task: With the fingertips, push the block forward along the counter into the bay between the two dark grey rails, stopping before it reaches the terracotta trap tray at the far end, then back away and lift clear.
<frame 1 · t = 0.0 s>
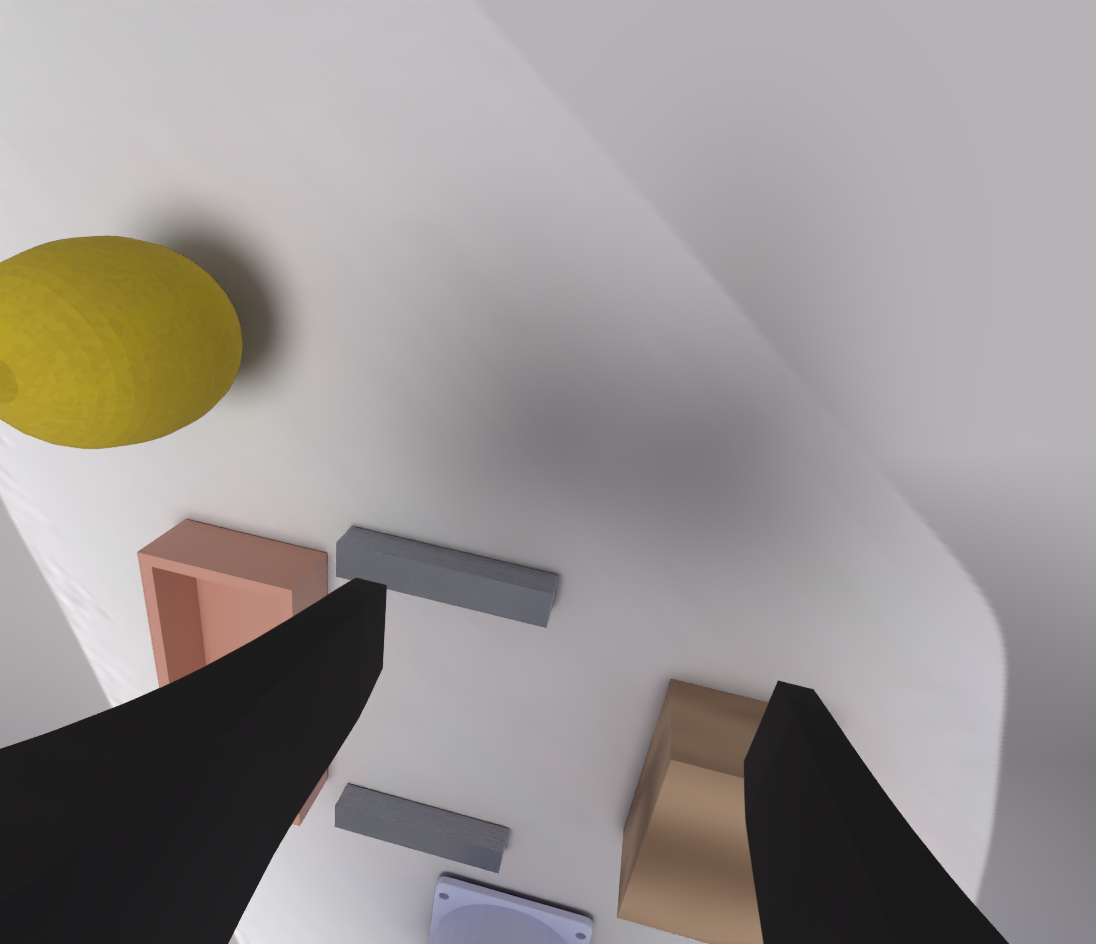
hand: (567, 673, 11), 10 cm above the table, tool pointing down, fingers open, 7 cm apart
lemon: (218, 314, 21), on the table
trap tray: (263, 660, 27), on the table
block: (717, 773, 26), on the table
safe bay: (437, 706, 26), on the table
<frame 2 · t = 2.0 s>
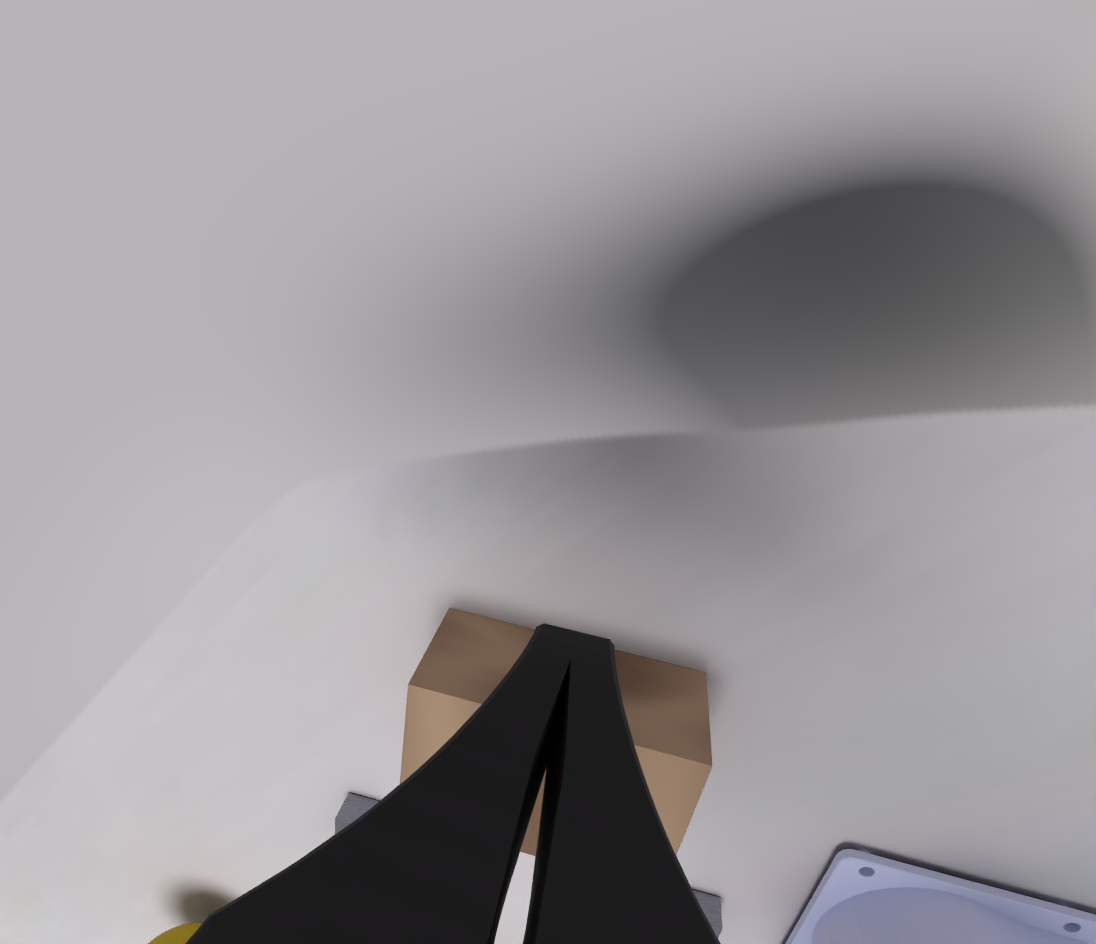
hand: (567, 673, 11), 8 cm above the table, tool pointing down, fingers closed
lemon: (224, 915, 33), on the table
block: (561, 698, 23), on the table
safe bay: (516, 899, 28), on the table
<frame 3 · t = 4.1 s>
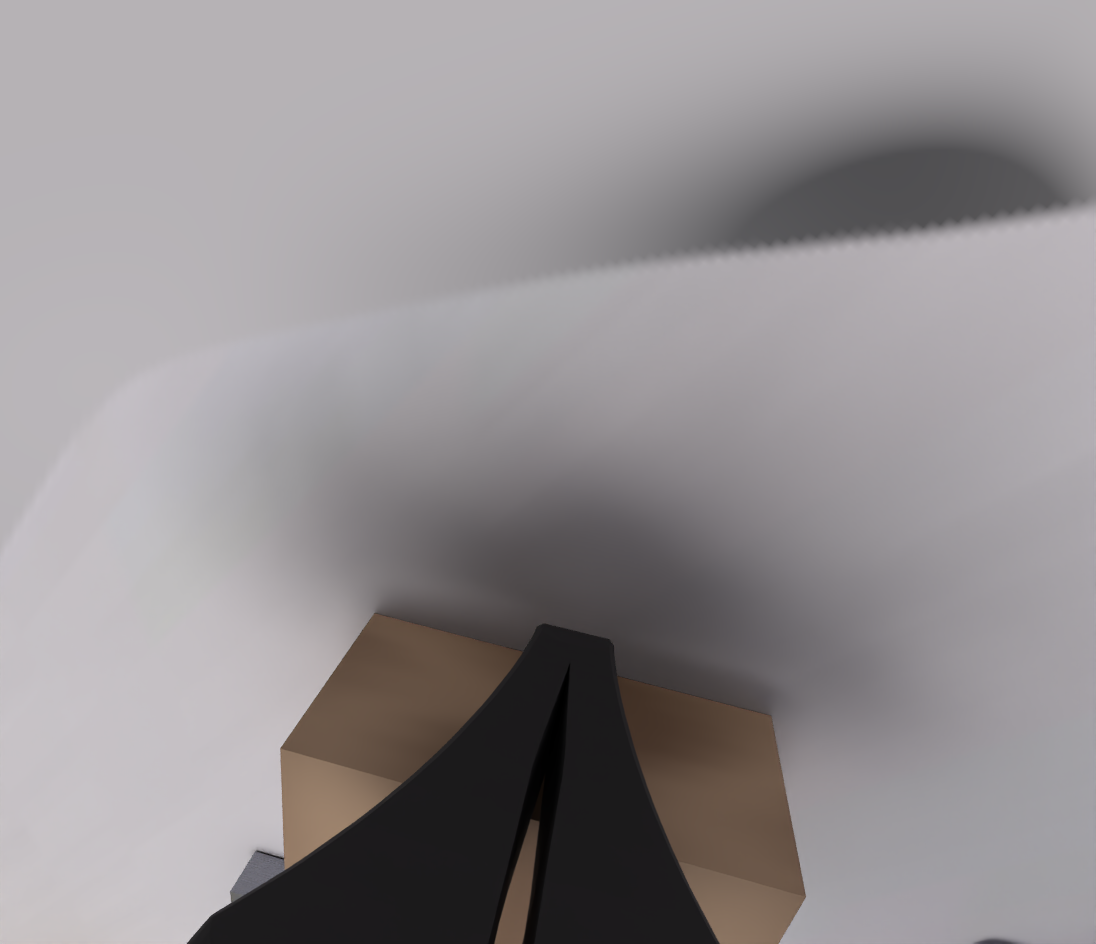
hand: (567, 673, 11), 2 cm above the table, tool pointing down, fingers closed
block: (546, 749, 15), on the table
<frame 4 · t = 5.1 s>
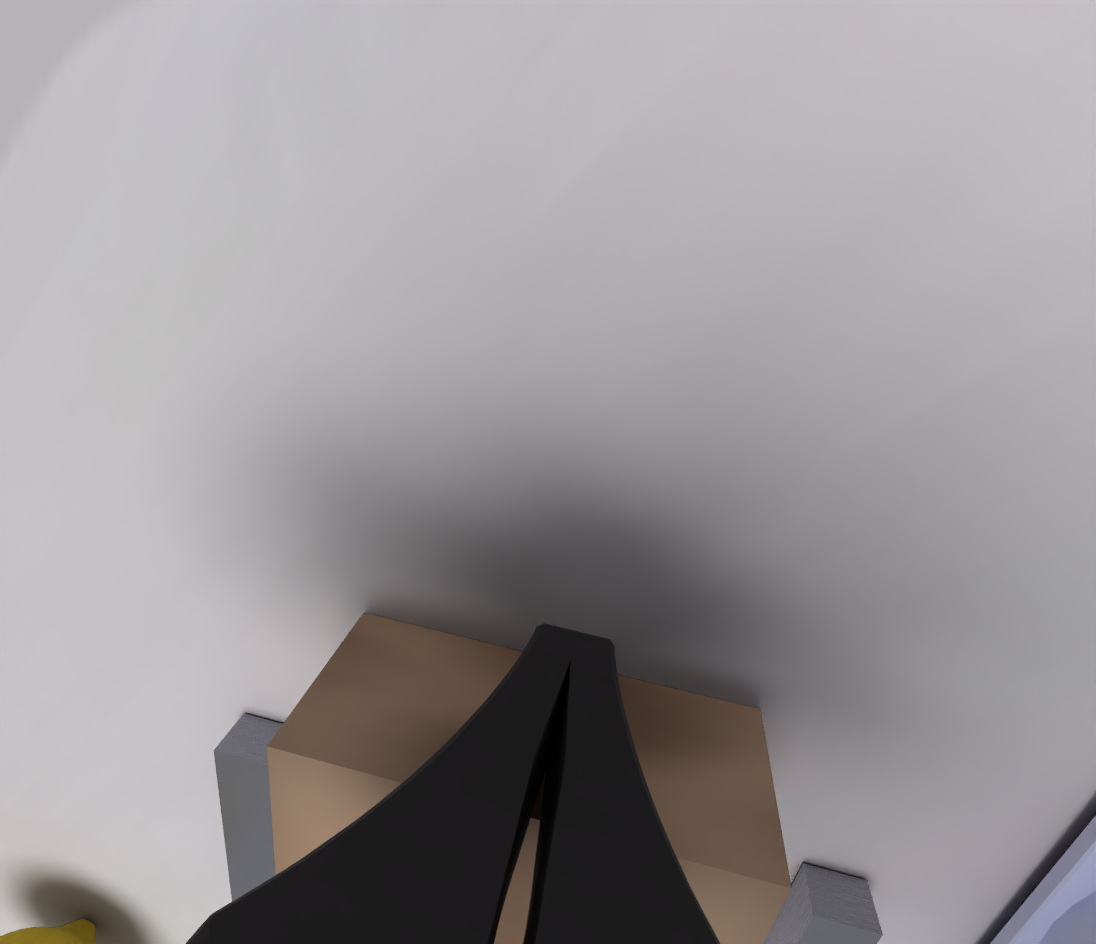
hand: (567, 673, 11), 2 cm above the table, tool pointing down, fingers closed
lemon: (93, 915, 23), on the table
block: (538, 746, 15), on the table, touching gripper
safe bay: (519, 888, 17), on the table
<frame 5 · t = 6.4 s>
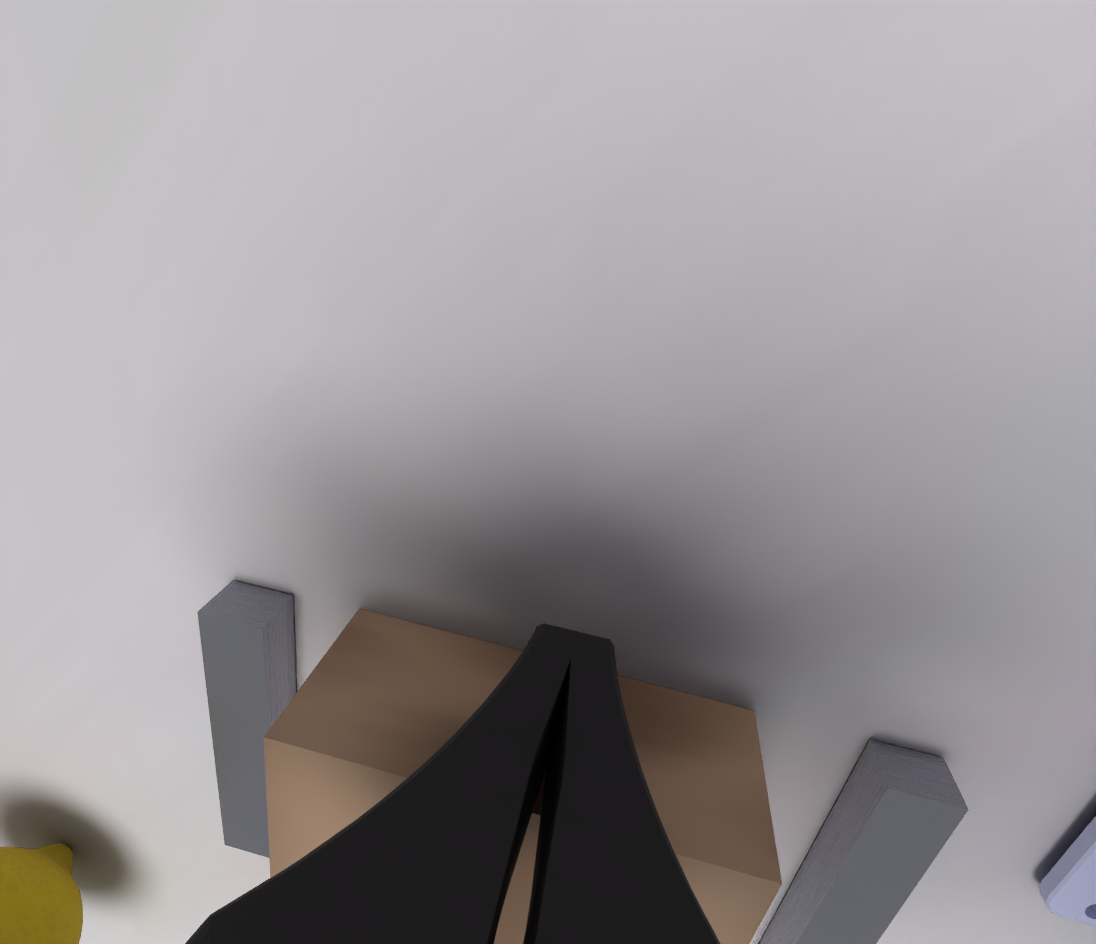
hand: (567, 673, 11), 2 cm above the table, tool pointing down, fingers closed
lemon: (71, 841, 21), on the table
block: (532, 742, 15), on the table
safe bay: (541, 785, 15), on the table
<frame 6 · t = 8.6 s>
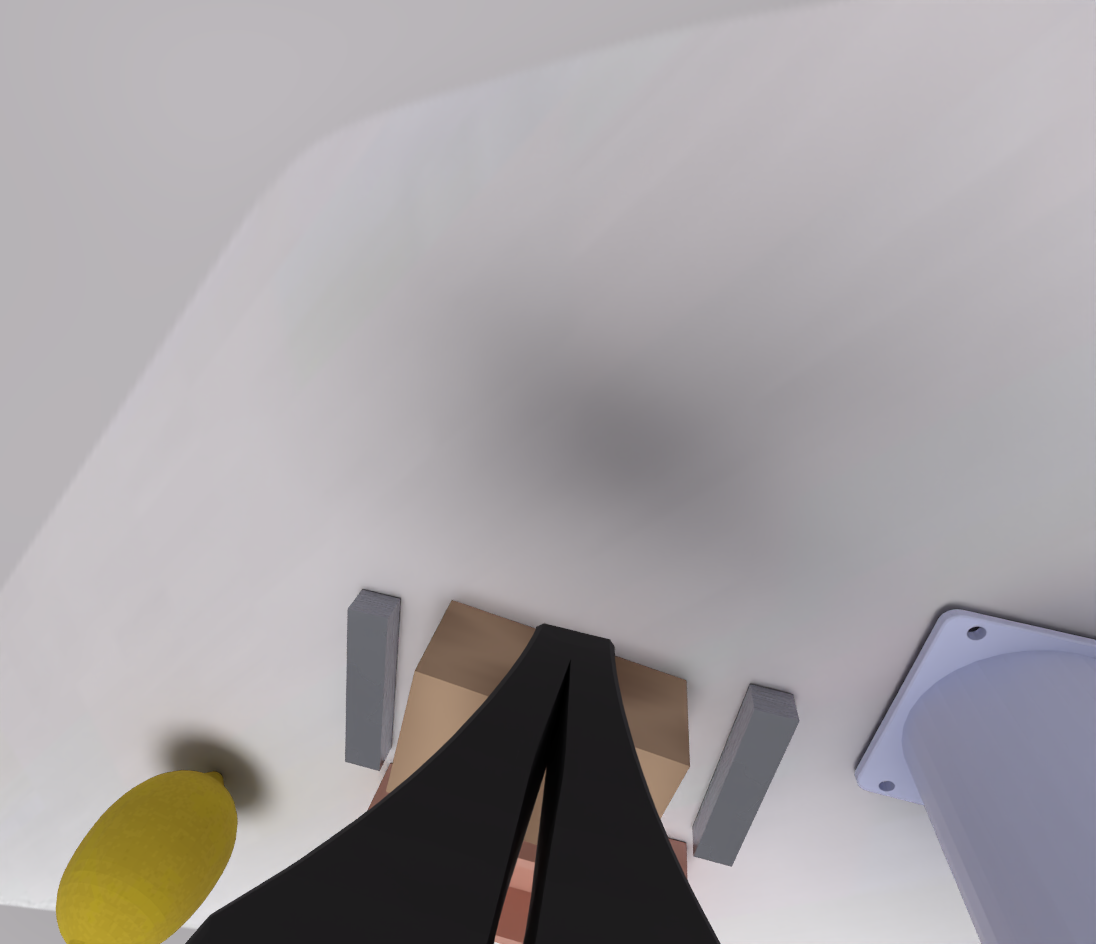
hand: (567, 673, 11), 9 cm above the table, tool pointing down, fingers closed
lemon: (220, 770, 30), on the table
trap tray: (525, 846, 28), on the table
block: (547, 692, 24), on the table
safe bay: (553, 718, 24), on the table
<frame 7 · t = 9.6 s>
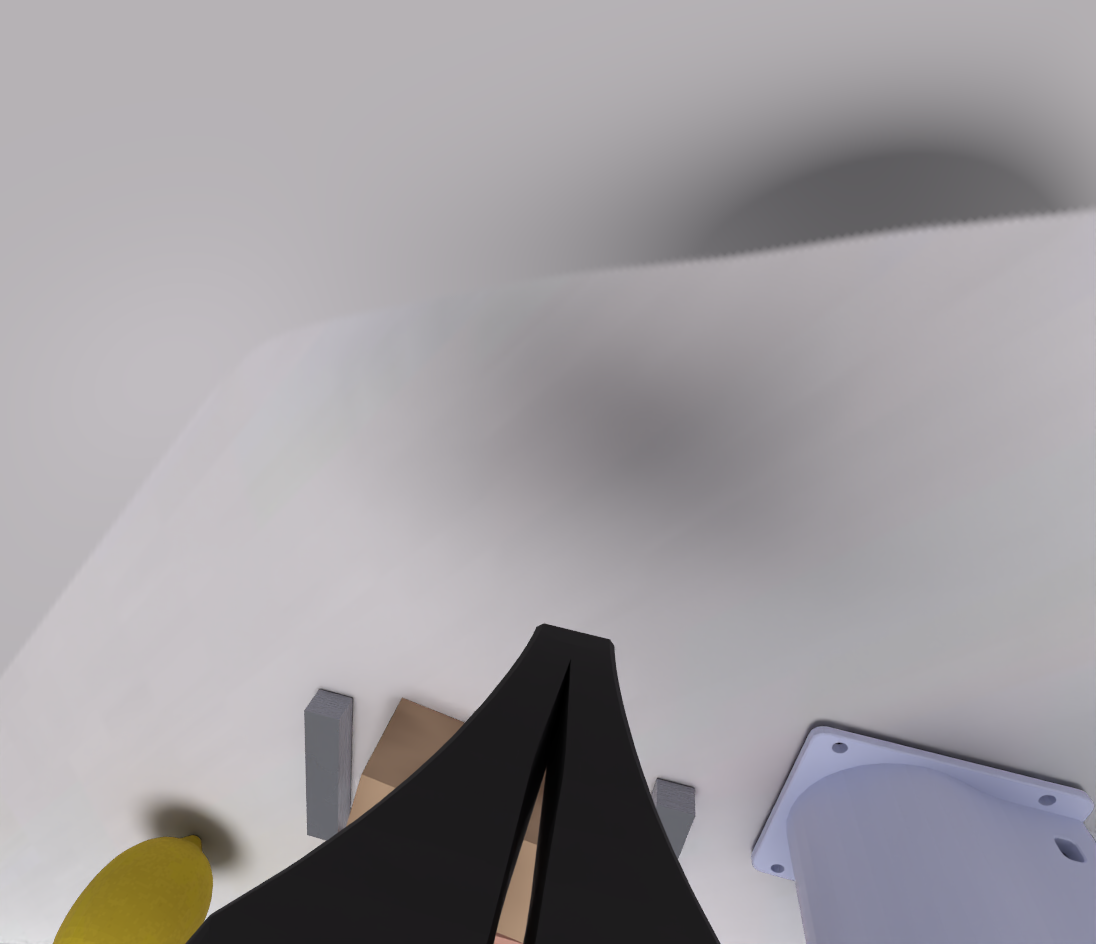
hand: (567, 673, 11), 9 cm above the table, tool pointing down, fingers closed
lemon: (199, 833, 33), on the table
block: (484, 777, 27), on the table
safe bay: (490, 800, 27), on the table
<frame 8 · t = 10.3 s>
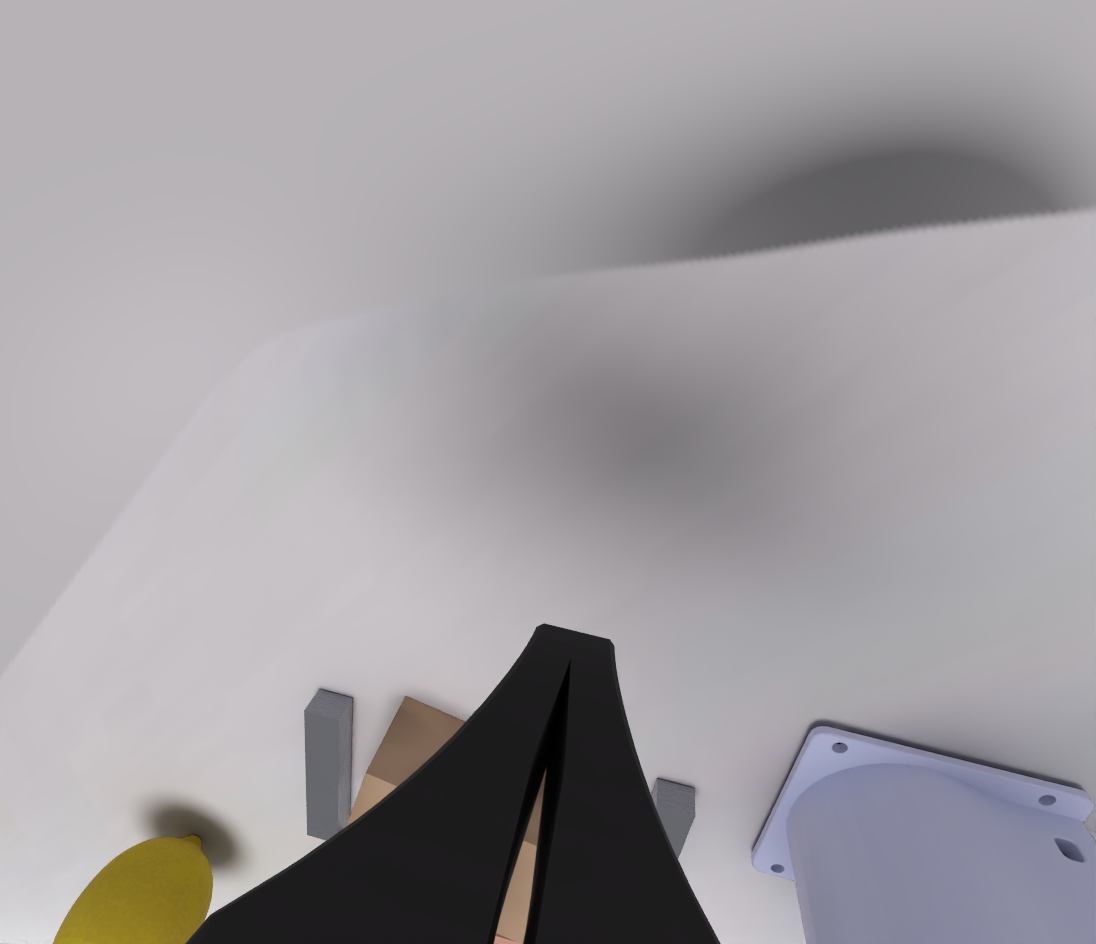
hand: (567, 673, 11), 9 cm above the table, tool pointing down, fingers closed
lemon: (199, 833, 33), on the table
block: (484, 777, 27), on the table
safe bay: (490, 800, 27), on the table
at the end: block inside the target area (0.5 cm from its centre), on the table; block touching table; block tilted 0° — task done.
